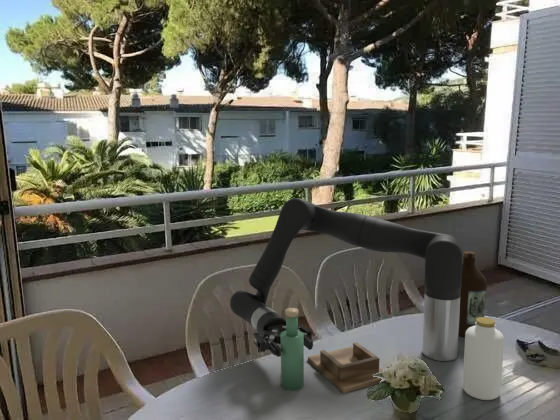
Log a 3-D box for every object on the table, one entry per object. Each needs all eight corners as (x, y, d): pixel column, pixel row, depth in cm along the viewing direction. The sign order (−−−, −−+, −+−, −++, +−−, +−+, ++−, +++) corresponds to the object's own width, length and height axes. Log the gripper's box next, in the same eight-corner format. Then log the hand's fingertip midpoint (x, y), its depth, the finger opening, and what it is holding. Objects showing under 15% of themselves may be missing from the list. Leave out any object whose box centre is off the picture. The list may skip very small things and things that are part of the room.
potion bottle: (504, 404, 107) (509, 329, 104) (465, 400, 108) (469, 326, 105) (495, 384, 115) (500, 314, 112) (459, 381, 116) (463, 312, 113)
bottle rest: (307, 360, 128) (307, 344, 127) (351, 349, 134) (351, 334, 133) (343, 393, 112) (343, 375, 111) (391, 379, 118) (391, 362, 117)
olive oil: (439, 328, 148) (443, 250, 143) (464, 322, 152) (469, 246, 148) (465, 341, 138) (469, 259, 134) (491, 334, 142) (497, 254, 138)
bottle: (289, 375, 120) (288, 304, 117) (308, 382, 117) (307, 309, 114) (276, 385, 116) (275, 311, 112) (295, 392, 112) (295, 316, 109)
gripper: (243, 316, 124) (268, 340, 109) (292, 307, 130) (321, 329, 115) (244, 342, 125) (268, 370, 111) (292, 332, 131) (321, 357, 116)
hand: (295, 349), depth 113 cm, fingers open, 8 cm apart
